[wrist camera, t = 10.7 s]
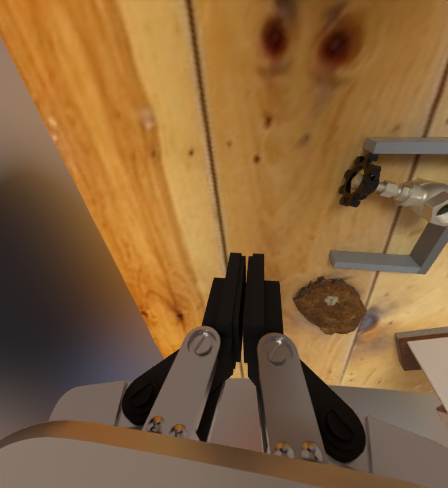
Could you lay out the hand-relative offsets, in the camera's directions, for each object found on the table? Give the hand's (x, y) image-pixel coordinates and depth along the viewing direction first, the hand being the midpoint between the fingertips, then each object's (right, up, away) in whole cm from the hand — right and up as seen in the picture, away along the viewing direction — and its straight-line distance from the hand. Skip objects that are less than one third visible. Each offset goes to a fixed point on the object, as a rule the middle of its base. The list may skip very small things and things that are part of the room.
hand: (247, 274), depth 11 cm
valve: (+21, +10, +18) cm, 30 cm away
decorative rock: (+20, -10, +33) cm, 39 cm away
